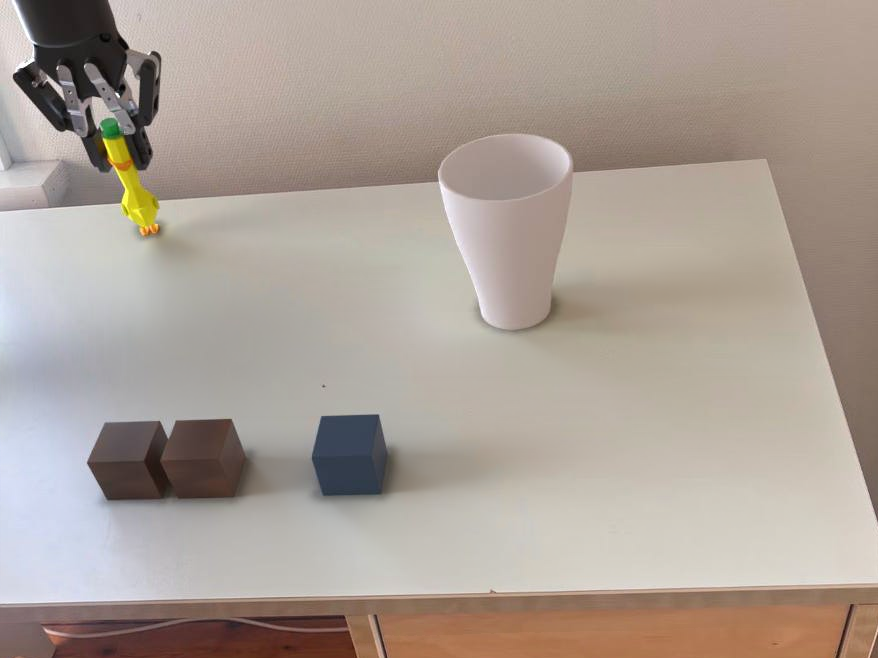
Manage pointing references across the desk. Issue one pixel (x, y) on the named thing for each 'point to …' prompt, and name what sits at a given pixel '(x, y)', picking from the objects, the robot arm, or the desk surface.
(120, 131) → the toy figure
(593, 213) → the desk surface
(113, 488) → the block
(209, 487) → the block
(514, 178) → the cup
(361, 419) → the block
